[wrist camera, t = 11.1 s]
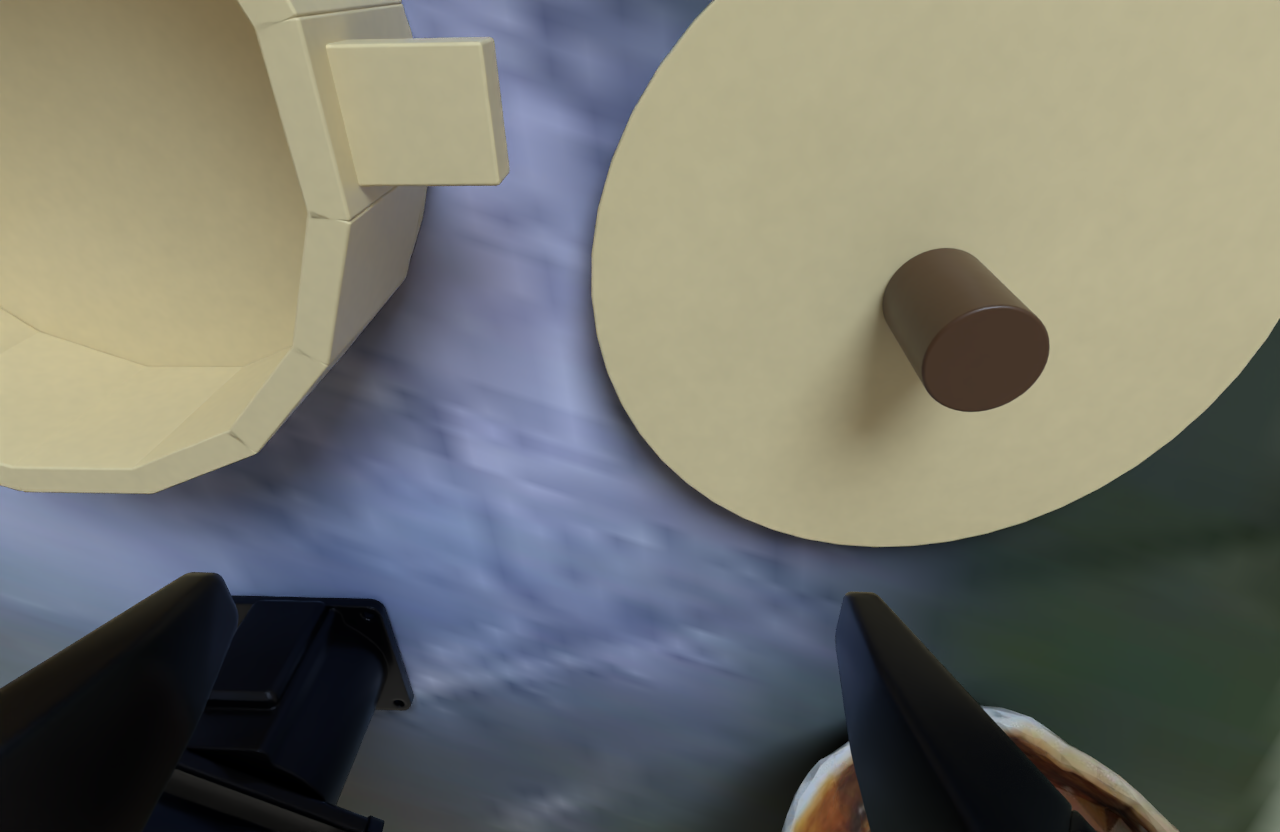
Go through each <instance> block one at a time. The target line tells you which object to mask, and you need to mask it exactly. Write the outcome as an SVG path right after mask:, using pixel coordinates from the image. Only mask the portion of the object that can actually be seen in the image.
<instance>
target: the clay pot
mask: <svg viewBox="0 0 1280 832" xmlns="http://www.w3.org/2000/svg"><path fill="white" fill-rule="evenodd" d="M981 707H982V708H983V709H984V710H985V712H986V713H987V714H988V715H989V716H990V717H991V718H992V719H993V720H994V721H995V722H996V723H997V725H998V726H999V727H1000V728H1001V729H1002V730H1003V731H1004V732H1005V733H1006V734H1007V735H1008V736H1009V738H1010V739H1011V740H1012V741H1013V742H1014V743H1015V744H1016V745H1017V746H1018V747H1019V748H1020V749H1021V751H1022V752H1023V753H1024V754H1025V755H1026V756H1027V757H1028V758H1029V759H1030V760H1031V761H1032V762H1033V764H1034V765H1035V766H1036V767H1037V768H1038V769H1039V770H1040V771H1041V772H1042V773H1043V774H1044V775H1045V777H1046V778H1047V779H1048V780H1049V781H1050V782H1051V783H1052V784H1053V785H1054V786H1055V787H1056V788H1057V790H1058V791H1059V792H1060V793H1061V794H1062V795H1063V796H1064V797H1065V798H1066V799H1067V800H1068V801H1069V803H1070V804H1071V805H1072V811H1073V810H1076V811H1078V812H1079V813H1080V814H1081V815H1082V816H1083V817H1084V818H1085V820H1086V821H1087V822H1088V823H1089V824H1090V825H1091V826H1092V827H1093V828H1094V829H1095V830H1096V831H1097V832H1180V831H1179V830H1178V829H1177V828H1175V827H1174V826H1173V825H1172V824H1171V823H1170V822H1169V821H1168V820H1166V819H1165V818H1164V816H1163V815H1162V814H1161V813H1160V812H1159V811H1158V810H1157V809H1156V808H1155V807H1154V806H1153V805H1152V804H1150V803H1149V802H1148V801H1147V800H1146V799H1145V798H1144V797H1143V796H1142V795H1141V794H1140V793H1139V792H1138V791H1137V790H1135V789H1134V788H1133V787H1132V786H1131V785H1130V784H1129V783H1128V782H1126V781H1125V780H1124V779H1123V778H1122V777H1121V776H1120V775H1118V774H1117V773H1115V772H1114V771H1112V770H1111V769H1109V768H1107V767H1106V766H1104V765H1103V764H1101V763H1100V762H1098V761H1097V760H1095V759H1094V758H1092V757H1091V756H1089V755H1087V754H1085V753H1084V752H1082V751H1080V750H1078V749H1077V748H1075V747H1073V746H1071V745H1070V744H1068V743H1067V742H1065V741H1064V740H1063V739H1061V738H1060V737H1059V736H1057V735H1056V734H1054V733H1053V732H1052V731H1050V730H1049V729H1048V728H1046V727H1045V726H1043V725H1042V724H1040V723H1039V722H1037V721H1036V720H1034V719H1033V718H1031V717H1029V716H1026V715H1023V714H1020V713H1017V712H1014V711H1011V710H1008V709H1005V708H1001V707H990V706H981ZM782 832H871V831H870V827H869V823H868V819H867V816H866V812H865V808H864V804H863V800H862V796H861V792H860V788H859V784H858V780H857V776H856V773H855V768H854V764H853V760H852V755H851V750H850V744H849V741H848V742H847V743H845V744H844V745H842V746H841V747H840V748H838V749H837V750H835V751H834V752H833V753H831V754H830V755H828V756H827V757H825V758H823V759H821V760H819V761H818V763H817V764H816V765H815V766H814V767H813V768H812V769H811V770H810V772H809V773H808V774H807V776H806V777H805V779H804V780H803V782H802V783H801V785H800V787H799V788H798V790H797V792H796V793H795V795H794V798H793V800H792V803H791V806H790V808H789V811H788V814H787V816H786V819H785V822H784V826H783V829H782Z"/></svg>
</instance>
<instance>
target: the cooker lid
mask: <svg viewBox="0 0 1280 832" xmlns="http://www.w3.org/2000/svg"><path fill="white" fill-rule="evenodd" d="M591 298H592V305H593V313H594V320H595V328H596V335H597V339H598V342H599V346H600V349H601V353H602V356H603V360H604V363H605V367H606V371H607V373H608V375H609V378H610V380H611V382H612V384H613V387H614V389H615V391H616V393H617V396H618V398H619V400H620V403H621V405H622V406H623V408H624V409H625V411H626V413H627V414H628V416H629V418H630V419H631V421H632V422H633V424H634V426H635V427H636V429H637V430H638V432H639V434H640V435H641V436H642V437H643V438H644V440H645V441H646V442H647V443H648V445H649V446H650V447H651V448H652V449H653V451H654V452H655V453H656V454H657V455H658V457H659V458H660V459H661V460H662V461H663V462H664V463H665V464H666V465H667V466H668V467H669V468H671V469H672V470H673V471H674V472H675V473H676V474H677V475H678V476H679V477H680V478H681V479H682V480H684V481H685V482H686V483H687V484H688V485H690V486H691V487H693V488H694V489H695V490H697V491H698V492H700V493H701V494H703V495H704V496H705V497H707V498H708V499H710V500H711V501H712V502H714V503H716V504H718V505H720V506H721V507H723V508H725V509H727V510H729V511H731V512H733V513H734V514H736V515H738V516H740V517H742V518H744V519H747V520H749V521H752V522H754V523H757V524H759V525H762V526H764V527H767V528H769V529H772V530H775V531H778V532H782V533H786V534H789V535H793V536H797V537H800V538H804V539H808V540H814V541H820V542H826V543H832V544H838V545H851V546H866V547H897V546H917V545H925V544H933V543H942V542H949V541H954V540H959V539H964V538H968V537H973V536H978V535H983V534H987V533H990V532H994V531H997V530H1000V529H1004V528H1007V527H1010V526H1013V525H1017V524H1020V523H1023V522H1026V521H1029V520H1031V519H1034V518H1036V517H1039V516H1041V515H1044V514H1046V513H1049V512H1051V511H1054V510H1056V509H1059V508H1061V507H1063V506H1065V505H1067V504H1069V503H1071V502H1073V501H1075V500H1077V499H1079V498H1081V497H1083V496H1085V495H1087V494H1089V493H1091V492H1093V491H1095V490H1097V489H1099V488H1101V487H1103V486H1104V485H1106V484H1108V483H1109V482H1111V481H1113V480H1114V479H1116V478H1117V477H1119V476H1121V475H1122V474H1124V473H1126V472H1127V471H1129V470H1131V469H1132V468H1134V467H1135V466H1137V465H1138V464H1140V463H1141V462H1142V461H1144V460H1145V459H1147V458H1148V457H1149V456H1151V455H1152V454H1153V453H1155V452H1156V451H1157V450H1159V449H1160V448H1161V447H1163V446H1164V445H1166V444H1167V443H1168V442H1170V441H1171V440H1172V439H1173V438H1175V437H1176V436H1177V435H1178V434H1179V433H1180V432H1181V431H1183V430H1184V429H1185V428H1186V427H1187V426H1188V425H1189V424H1190V423H1192V422H1193V421H1194V420H1195V419H1196V418H1197V417H1198V416H1200V415H1201V414H1202V413H1203V412H1204V411H1205V410H1206V409H1207V408H1208V407H1209V406H1210V405H1211V404H1212V403H1213V402H1214V401H1215V400H1216V399H1217V398H1218V397H1219V396H1220V394H1221V393H1222V392H1223V391H1224V390H1225V389H1226V388H1227V387H1228V386H1229V385H1230V384H1231V383H1232V382H1233V381H1234V380H1235V378H1236V377H1237V376H1238V375H1239V374H1240V373H1241V371H1242V370H1243V369H1244V368H1245V366H1246V365H1247V364H1248V362H1249V361H1250V360H1251V358H1252V357H1253V356H1254V355H1255V353H1256V352H1257V351H1258V349H1259V348H1260V347H1261V345H1262V344H1263V343H1264V342H1265V340H1266V339H1267V338H1268V336H1269V335H1270V333H1271V331H1272V330H1273V328H1274V326H1275V325H1276V323H1277V322H1278V320H1279V318H1280V0H713V1H712V2H711V3H710V4H709V5H708V6H707V7H706V8H705V9H704V10H703V11H702V12H701V13H700V14H699V15H698V16H697V17H696V18H695V19H694V21H693V22H692V23H691V24H690V26H689V27H688V28H687V30H686V31H685V32H684V34H683V35H682V36H681V37H680V39H679V40H678V41H677V43H676V44H675V45H674V46H673V48H672V49H671V50H670V52H669V53H668V54H667V56H666V57H665V58H664V59H663V61H662V62H661V63H660V65H659V67H658V68H657V70H656V72H655V73H654V75H653V77H652V78H651V80H650V82H649V84H648V85H647V87H646V89H645V90H644V92H643V94H642V95H641V97H640V99H639V101H638V102H637V104H636V106H635V107H634V109H633V111H632V113H631V115H630V118H629V120H628V122H627V125H626V127H625V129H624V132H623V134H622V136H621V139H620V141H619V143H618V146H617V148H616V150H615V153H614V155H613V157H612V160H611V164H610V167H609V171H608V174H607V178H606V181H605V185H604V188H603V192H602V195H601V199H600V202H599V206H598V211H597V218H596V225H595V232H594V239H593V246H592V253H591Z"/></svg>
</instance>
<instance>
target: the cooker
mask: <svg viewBox="0 0 1280 832" xmlns="http://www.w3.org/2000/svg"><path fill="white" fill-rule="evenodd" d="M401 3H402V1H401V0H0V485H1V486H4V487H8V488H11V489H15V490H18V491H24V492H52V493H119V494H151V493H152V494H154V493H157V492H159V491H162V490H165V489H167V488H170V487H172V486H175V485H177V484H180V483H183V482H185V481H188V480H190V479H193V478H196V477H198V476H201V475H203V474H206V473H209V472H211V471H214V470H216V469H219V468H222V467H224V466H227V465H229V464H232V463H235V462H237V461H240V460H242V459H245V458H248V457H250V456H253V455H255V454H257V453H258V452H260V451H261V449H262V448H263V447H264V446H265V445H266V444H267V442H268V441H269V440H270V439H271V438H272V437H273V436H274V434H275V433H276V432H277V431H278V430H279V429H280V427H281V426H282V425H283V424H284V423H285V422H286V420H287V419H288V418H289V417H290V416H291V415H292V414H293V412H294V411H295V410H296V409H297V408H298V407H299V405H300V404H301V403H302V402H303V401H304V400H305V398H306V397H307V396H308V395H309V394H310V393H311V392H312V390H313V389H314V388H315V387H316V386H317V385H318V383H319V382H320V381H321V380H322V379H323V378H324V377H325V375H326V374H327V373H328V372H329V371H330V370H331V368H332V367H333V366H334V365H335V364H336V363H337V361H338V360H339V359H340V358H341V357H342V356H343V355H344V353H345V352H346V351H347V350H348V349H349V347H350V346H351V345H352V344H353V342H354V341H355V340H356V339H357V337H358V336H359V335H360V334H361V333H362V331H363V330H364V329H365V328H366V326H367V325H368V324H369V323H370V322H371V320H372V319H373V318H374V317H375V316H376V314H377V313H378V312H379V311H380V310H381V308H382V307H383V306H384V304H385V303H386V302H387V301H388V300H389V298H390V297H391V296H392V295H393V293H394V292H395V291H396V290H397V289H398V287H399V286H400V285H401V284H402V282H403V281H404V280H405V278H406V276H407V272H408V267H409V262H410V258H411V255H412V253H413V250H414V246H415V243H416V239H417V236H418V233H419V229H420V226H421V222H422V219H423V214H424V207H425V200H426V193H427V186H497V185H499V184H500V183H501V182H502V181H503V180H504V178H505V177H506V176H507V175H508V173H509V171H510V170H509V161H508V153H507V145H506V137H505V128H504V120H503V112H502V103H501V95H500V87H499V78H498V70H497V62H496V53H495V45H494V40H493V38H491V37H460V38H413V37H412V33H411V29H410V27H409V24H408V21H407V18H406V15H405V12H404V7H403V5H402V4H401Z"/></svg>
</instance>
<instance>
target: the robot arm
mask: <svg viewBox="0 0 1280 832" xmlns="http://www.w3.org/2000/svg"><path fill="white" fill-rule="evenodd" d="M835 644H836V652H837V660H838V667H839V674H840V681H841V688H842V695H843V703H844V710H845V717H846V724H847V731H848V738H849V744H850V750H851V755H852V760H853V764H854V768H855V773H856V776H857V780H858V784H859V788H860V792H861V796H862V800H863V804H864V808H865V812H866V816H867V819H868V823H869V827H870V831H871V832H1097V831H1096V830H1095V829H1094V828H1093V827H1092V826H1091V825H1090V824H1089V823H1088V822H1087V821H1086V820H1085V818H1084V817H1083V816H1082V815H1081V814H1080V813H1079V812H1078V811H1076V810H1073V811H1072V805H1071V804H1070V803H1069V801H1068V800H1067V799H1066V798H1065V797H1064V796H1063V795H1062V794H1061V793H1060V792H1059V791H1058V790H1057V788H1056V787H1055V786H1054V785H1053V784H1052V783H1051V782H1050V781H1049V780H1048V779H1047V778H1046V777H1045V775H1044V774H1043V773H1042V772H1041V771H1040V770H1039V769H1038V768H1037V767H1036V766H1035V765H1034V764H1033V762H1032V761H1031V760H1030V759H1029V758H1028V757H1027V756H1026V755H1025V754H1024V753H1023V752H1022V751H1021V749H1020V748H1019V747H1018V746H1017V745H1016V744H1015V743H1014V742H1013V741H1012V740H1011V739H1010V738H1009V736H1008V735H1007V734H1006V733H1005V732H1004V731H1003V730H1002V729H1001V728H1000V727H999V726H998V725H997V723H996V722H995V721H994V720H993V719H992V718H991V717H990V716H989V715H988V714H987V713H986V712H985V710H984V709H983V708H982V707H981V706H980V705H979V704H978V703H977V702H976V701H975V700H974V699H973V697H972V696H971V695H970V694H969V693H968V692H967V691H966V690H965V689H964V688H963V687H962V686H961V684H960V683H959V682H958V681H957V680H956V679H955V678H954V677H953V676H952V675H951V674H950V673H949V671H948V670H947V669H946V668H945V667H944V666H943V665H942V664H941V663H940V662H939V661H938V660H937V659H936V657H935V656H934V655H933V654H932V653H931V652H930V651H929V650H928V649H927V648H926V647H925V646H924V644H923V643H922V642H921V641H920V640H919V639H918V638H917V637H916V636H915V635H914V634H913V633H912V631H911V630H910V629H909V628H908V627H907V626H906V625H905V624H904V623H903V622H902V621H901V620H900V618H899V617H898V616H897V615H896V614H895V613H894V612H893V611H892V610H891V609H890V608H889V607H888V605H887V604H886V603H885V602H884V601H883V600H882V599H881V598H880V597H879V596H878V595H876V594H875V593H871V592H848V593H846V595H845V596H844V598H843V602H842V606H841V610H840V615H839V619H838V623H837V628H836V634H835ZM413 698H414V695H413V692H412V689H411V686H410V683H409V680H408V677H407V674H406V671H405V668H404V665H403V662H402V658H401V655H400V652H399V649H398V646H397V643H396V640H395V637H394V634H393V631H392V628H391V625H390V622H389V619H388V616H387V613H386V610H385V607H384V606H383V604H381V603H380V602H379V601H376V600H373V599H354V598H310V597H265V596H231V595H230V592H229V590H228V588H227V586H226V584H225V581H224V579H223V578H222V577H221V576H220V575H219V574H217V573H204V572H191V573H187V574H185V575H183V576H181V577H179V578H178V579H176V580H175V581H173V582H171V583H170V584H168V585H167V586H165V587H163V588H162V589H160V590H158V591H157V592H155V593H154V594H152V595H150V596H149V597H147V598H146V599H144V600H142V601H141V602H139V603H138V604H136V605H134V606H133V607H131V608H129V609H128V610H126V611H125V612H123V613H121V614H120V615H118V616H117V617H115V618H113V619H112V620H110V621H108V622H107V623H105V624H104V625H102V626H100V627H99V628H97V629H96V630H94V631H92V632H91V633H89V634H88V635H86V636H84V637H83V638H81V639H79V640H78V641H76V642H75V643H73V644H71V645H70V646H68V647H67V648H65V649H63V650H62V651H60V652H59V653H57V654H55V655H54V656H52V657H50V658H49V659H47V660H46V661H44V662H42V663H41V664H39V665H38V666H36V667H34V668H33V669H31V670H29V671H28V672H26V673H25V674H23V675H21V676H20V677H18V678H17V679H15V680H13V681H12V682H10V683H8V684H7V685H5V686H4V687H2V688H0V832H382V831H383V826H384V821H383V820H381V819H378V818H376V817H373V816H369V817H368V818H367V817H364V816H362V815H359V814H356V813H354V812H351V811H349V810H346V809H343V808H341V807H338V806H336V804H337V802H338V799H339V797H340V794H341V792H342V789H343V787H344V784H345V782H346V779H347V777H348V775H349V772H350V770H351V767H352V765H353V762H354V760H355V757H356V755H357V753H358V750H359V748H360V745H361V743H362V740H363V738H364V735H365V733H366V730H367V728H368V726H369V723H370V721H371V718H372V716H373V713H374V711H375V710H407V709H409V708H410V707H411V704H412V701H413Z"/></svg>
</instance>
